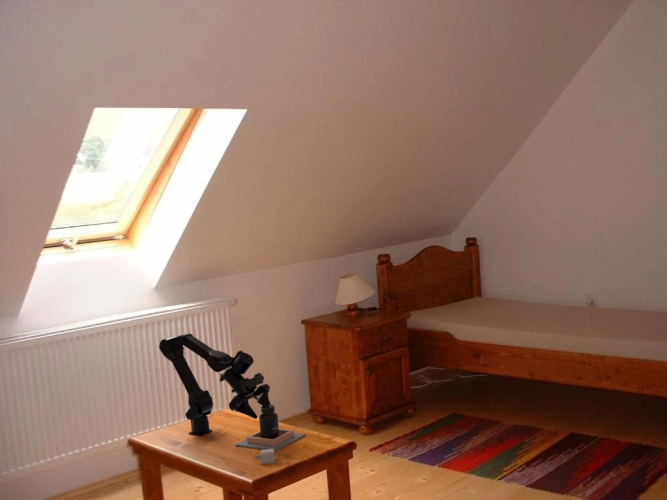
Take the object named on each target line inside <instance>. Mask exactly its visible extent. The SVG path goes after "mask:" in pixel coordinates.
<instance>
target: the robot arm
mask: <svg viewBox="0 0 667 500" xmlns="http://www.w3.org/2000/svg"><path fill="white" fill-rule="evenodd" d="M184 347H186V348H187V349H189V350H190V351H191V352H193V353H194V354H196V355H198V356H199V357H200V358H201V359H204V361H206V364H207V366H208V367H209V368H210V369H211V370H212V371H213V372H215V373H219V372H222V373H221V374H219V376H220V377H219V382H221V383H222V382H224V381H226V383H227V384H228V385H229V386H230V388H231V389H232V390H231V392H232V393H233V394H235V393H236V395H234V396H233V398H232V399H231V400H230V402H229V403H228V407H229V409H230V411H231V412H234V411H235V412H237V413H240V414H243V415H246V416H247V417H251V418H252V419H254V420H257V419H258V415H257V413H255V411H254V409H253V408H252V406H251V405H250V403H249V401H250V400H251V399H255V400H256V402H257V403H258V404H259V405H261V407H262V406H264V405H272V403H271V401H270V399H269V392H270V389H271V386H270V385H269V384H268V383H264V380H265V377H264V376H263V375H264V374H262V373H261V372H257V373H256V374H254V375H253V376H254V377H251V378H249V377H244V376H243V375H244V374H246V373H247V371H248V370H249V369H250V368H251V366H252V365H253V363H254V357H253V356H252V355H251V354H250V353H249V354H248V353H247V352H245V351H243V350H238V351H237V352H236V353H235V355H234V357H233V356H231V355H230V354H228V353H226V352H224V351H221V350H220V351H219V350H216V349H213V348H212V347H210V346H209V345H208V344H207V343H206V344H205V343H204V342H203V341H201V340H200V339H198V338H197V337H196V336H194V335H193V333H191V332H185V333H183V334H180V335H178V336H175V335H173V336H169V337H166V338H163V339H161V340H160V342H159V345H158V349H159V351H160V352H161V354H162V355H163V356H164V358H166V359H167V360H168V361H170V362H171V363H172V365H173V368H174V369H175V371H176V373H177V375H178V377H179V379H180V380H181V383H182V385H183V386H184V388H185V390H186V392H187V395H188V406H189V408H188V410H187V411H186V412H185V417H186V419H187V420H190V427H191V431H189V432H188V434H189V435H194V436H203V435H205V434H209V433H211V432H213V429H210V423H209V416H208V415H211V414H212V410H213V407H214V401H213V397H212V396H211V395H210V392H209V390H208V389H207V390H203V389H202V388H201V386H200V385H199V383H198V381H197V379H196V378H195V375H194V374H193V371H192V370H191V367H190V366H189V364H188V361H187V359H186V358H185V356H184V354H185V352H184V350H185V348H184ZM223 371H224V372H223Z"/></svg>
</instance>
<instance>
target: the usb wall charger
mask: <svg viewBox="0 0 667 500" xmlns="http://www.w3.org/2000/svg"><path fill="white" fill-rule="evenodd" d="M275 457H276V456H275V451H274V449H266V450H262V449H260V455H259V454H258V455H253V458H252V459H253V461H259V460H261V465H270V464H275V463H276V461H275V460H276V458H275Z"/></svg>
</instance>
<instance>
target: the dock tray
mask: <svg viewBox="0 0 667 500" xmlns="http://www.w3.org/2000/svg"><path fill="white" fill-rule="evenodd" d="M303 437H306V433H303V432H301V433H300V432H294V429H285V428H279V437H277V438H275V439H267V438H261V436H260V430H259V431H256V432H255V433H253V434H250V435H248V436H246V438H245V439H244V440H242V441H240V442H238V443H236V444H235V447H238V448H245V449H247V448H248V449H255V450H266V449H274V452H278V451H280V450H282V449H284V448H285V447H288V446H289V445H291V444H292V443H295V442H297V441H299V440H300V439H302V438H303Z"/></svg>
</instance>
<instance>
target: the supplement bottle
mask: <svg viewBox="0 0 667 500" xmlns="http://www.w3.org/2000/svg"><path fill="white" fill-rule="evenodd" d="M275 411H276V408H275V404H271V405H264V406H262V405H261V406H260V412H261V413H260V414H259V416H258V421H259V422H258V423H259V431H260V436H261V438H267V439H275V438H277V437H279V429H280V426H279V425H280V424H279V415H278V413H277V412H275Z"/></svg>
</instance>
